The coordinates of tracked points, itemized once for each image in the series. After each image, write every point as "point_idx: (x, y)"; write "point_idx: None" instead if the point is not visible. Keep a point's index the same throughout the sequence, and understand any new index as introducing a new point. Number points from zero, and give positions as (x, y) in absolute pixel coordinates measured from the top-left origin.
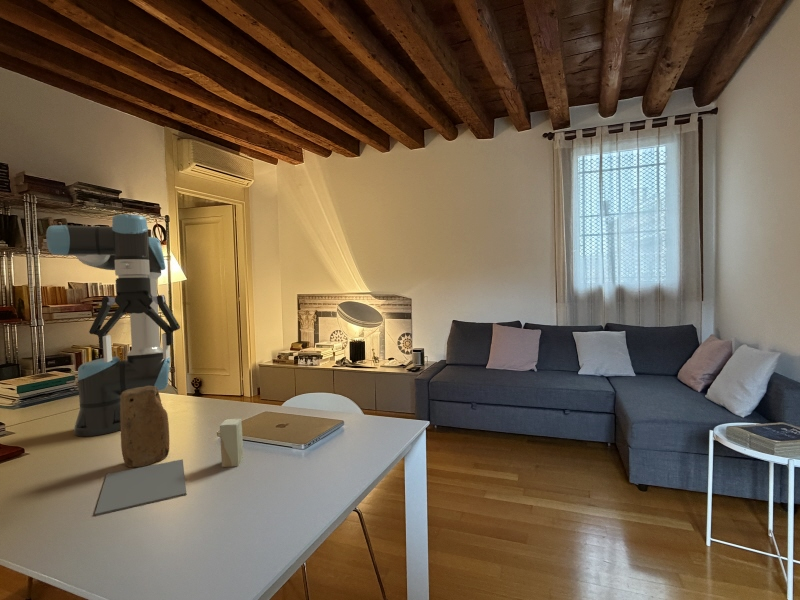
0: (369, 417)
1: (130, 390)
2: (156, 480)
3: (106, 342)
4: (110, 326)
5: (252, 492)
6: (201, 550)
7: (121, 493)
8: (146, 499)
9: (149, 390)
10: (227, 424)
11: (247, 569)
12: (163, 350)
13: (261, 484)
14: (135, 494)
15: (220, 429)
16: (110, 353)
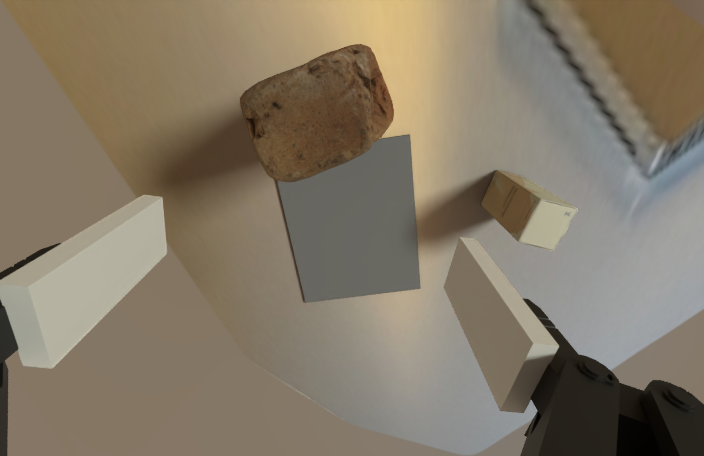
0: None
1: (276, 123)
2: (370, 225)
3: (89, 327)
4: (3, 450)
5: None
6: (435, 402)
7: (324, 253)
8: (366, 287)
9: (352, 158)
10: (536, 243)
11: (471, 435)
12: (461, 317)
13: (525, 295)
14: (346, 265)
15: (515, 238)
16: (138, 232)
